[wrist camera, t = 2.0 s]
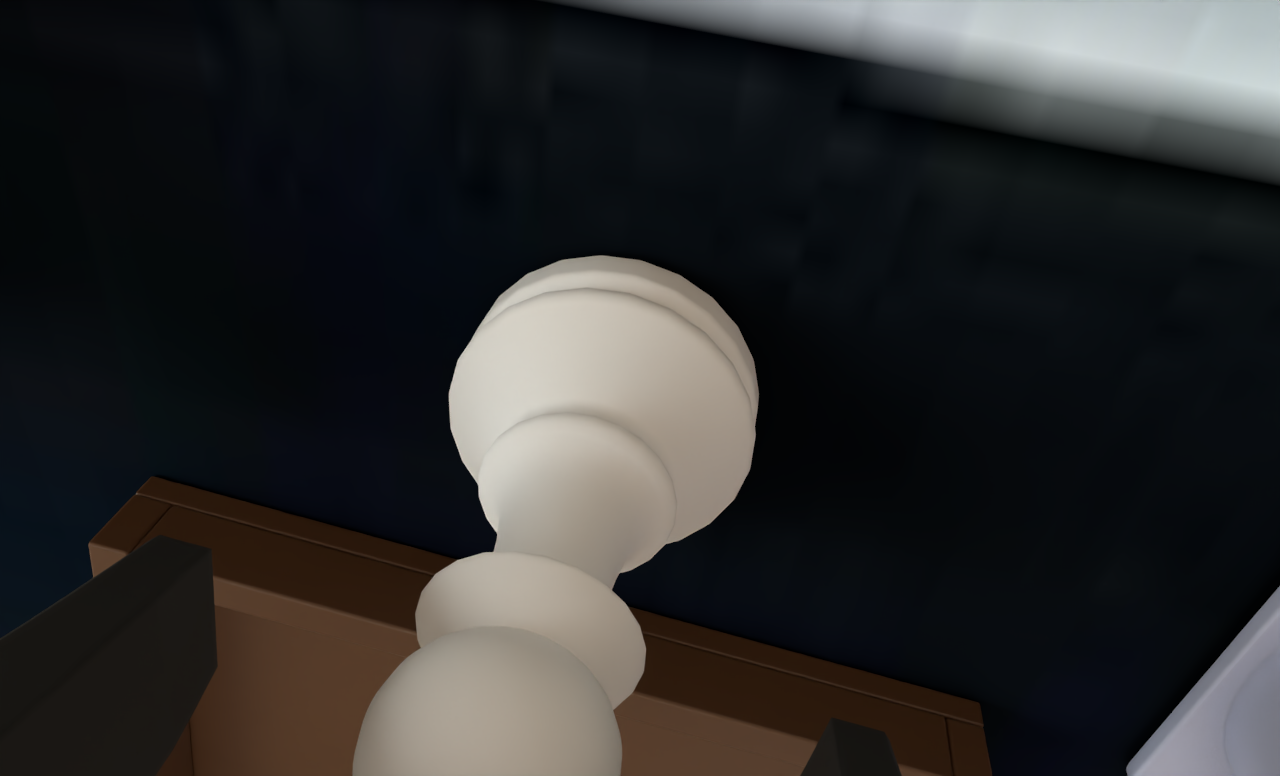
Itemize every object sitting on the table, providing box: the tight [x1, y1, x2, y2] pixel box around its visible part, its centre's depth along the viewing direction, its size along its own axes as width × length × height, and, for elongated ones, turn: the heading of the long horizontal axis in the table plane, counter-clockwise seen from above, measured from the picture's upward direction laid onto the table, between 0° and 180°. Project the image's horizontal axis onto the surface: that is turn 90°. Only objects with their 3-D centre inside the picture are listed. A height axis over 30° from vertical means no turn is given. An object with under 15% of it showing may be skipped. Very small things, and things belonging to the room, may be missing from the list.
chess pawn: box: [352, 255, 759, 776], centre depth 13 cm, size 5×5×9 cm
